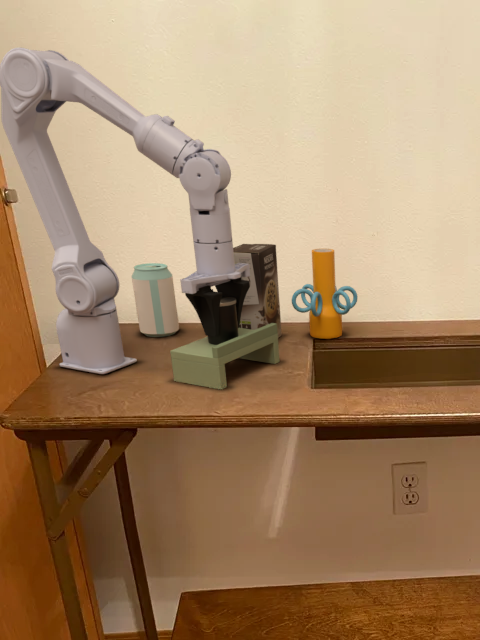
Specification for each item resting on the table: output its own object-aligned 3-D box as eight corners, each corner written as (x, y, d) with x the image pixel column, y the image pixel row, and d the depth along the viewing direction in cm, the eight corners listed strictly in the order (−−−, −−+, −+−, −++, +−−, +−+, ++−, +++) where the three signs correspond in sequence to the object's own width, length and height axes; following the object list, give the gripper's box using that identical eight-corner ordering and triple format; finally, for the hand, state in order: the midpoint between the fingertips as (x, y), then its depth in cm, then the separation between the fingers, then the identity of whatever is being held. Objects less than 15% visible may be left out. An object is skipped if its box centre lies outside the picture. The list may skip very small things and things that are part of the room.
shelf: (174, 381, 124) (168, 340, 120) (235, 354, 136) (231, 317, 133) (221, 389, 120) (217, 347, 117) (279, 361, 133) (277, 323, 130)
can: (140, 329, 150) (130, 263, 144) (178, 327, 151) (170, 261, 146) (140, 339, 144) (129, 270, 138) (180, 336, 146) (171, 268, 140)
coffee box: (266, 348, 139) (258, 252, 131) (231, 346, 140) (222, 250, 132) (283, 335, 147) (277, 243, 139) (250, 333, 148) (242, 241, 140)
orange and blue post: (350, 325, 154) (348, 244, 146) (365, 340, 145) (364, 253, 138) (288, 330, 150) (283, 247, 143) (299, 345, 142) (294, 257, 134)
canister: (201, 343, 125) (196, 300, 122) (220, 335, 129) (216, 294, 126) (227, 347, 123) (222, 304, 120) (246, 339, 127) (242, 298, 124)
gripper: (204, 250, 111) (214, 346, 118) (263, 235, 123) (269, 324, 130) (164, 246, 114) (177, 340, 121) (225, 232, 125) (233, 319, 132)
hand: (222, 331), depth 125 cm, fingers closed on canister, 5 cm apart
